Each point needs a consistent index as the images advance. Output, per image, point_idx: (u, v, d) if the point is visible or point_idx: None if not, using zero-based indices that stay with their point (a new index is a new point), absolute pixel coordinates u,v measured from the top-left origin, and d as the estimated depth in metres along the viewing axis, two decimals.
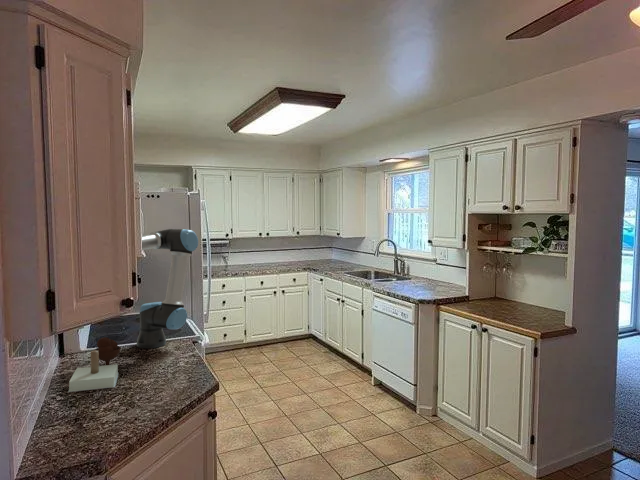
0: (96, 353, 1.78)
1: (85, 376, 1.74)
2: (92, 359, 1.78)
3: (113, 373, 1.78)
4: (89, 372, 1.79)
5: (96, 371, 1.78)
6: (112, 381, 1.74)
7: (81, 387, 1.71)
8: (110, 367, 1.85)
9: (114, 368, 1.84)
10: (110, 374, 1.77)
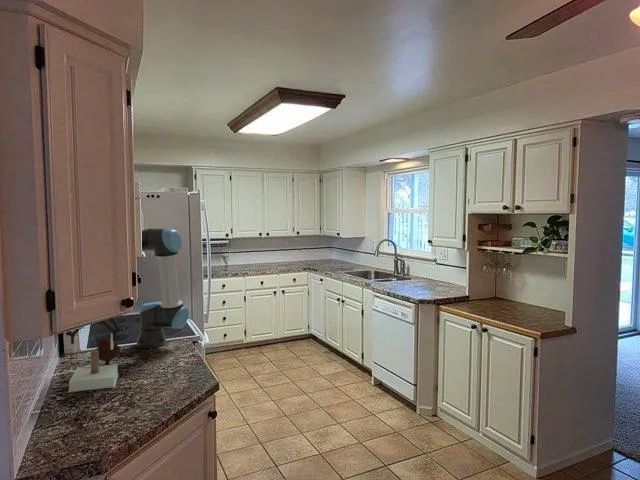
0: (96, 353, 1.78)
1: (85, 376, 1.74)
2: (92, 359, 1.78)
3: (113, 373, 1.78)
4: (89, 372, 1.79)
5: (96, 371, 1.78)
6: (112, 381, 1.74)
7: (81, 387, 1.71)
8: (110, 367, 1.85)
9: (114, 368, 1.84)
10: (110, 374, 1.77)
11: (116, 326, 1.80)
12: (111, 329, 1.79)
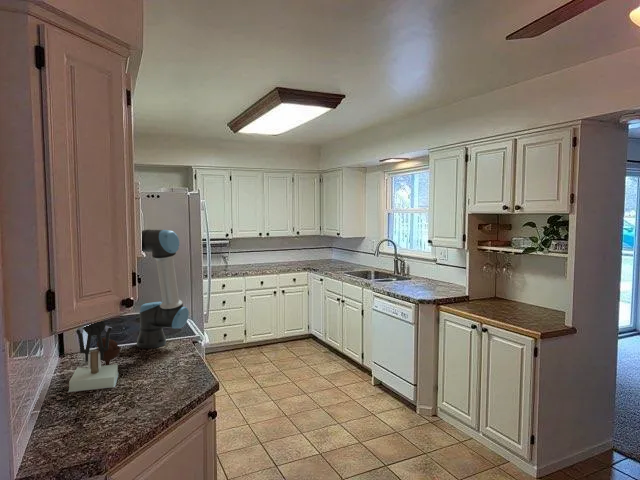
0: (96, 353, 1.78)
1: (85, 376, 1.74)
2: (92, 359, 1.78)
3: (113, 373, 1.78)
4: (89, 372, 1.79)
5: (96, 371, 1.78)
6: (112, 381, 1.74)
7: (81, 387, 1.71)
8: (110, 367, 1.85)
9: (114, 368, 1.84)
10: (110, 374, 1.77)
11: (106, 344, 1.79)
12: (101, 347, 1.79)
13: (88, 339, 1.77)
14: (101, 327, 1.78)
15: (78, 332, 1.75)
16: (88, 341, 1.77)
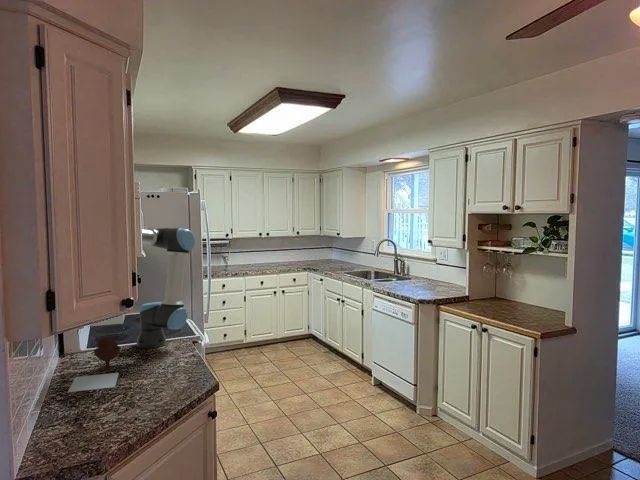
0: None
1: None
2: None
3: None
4: None
5: None
6: (121, 318, 1.85)
7: None
8: None
9: None
10: None
11: None
12: None
13: None
14: None
15: None
16: None
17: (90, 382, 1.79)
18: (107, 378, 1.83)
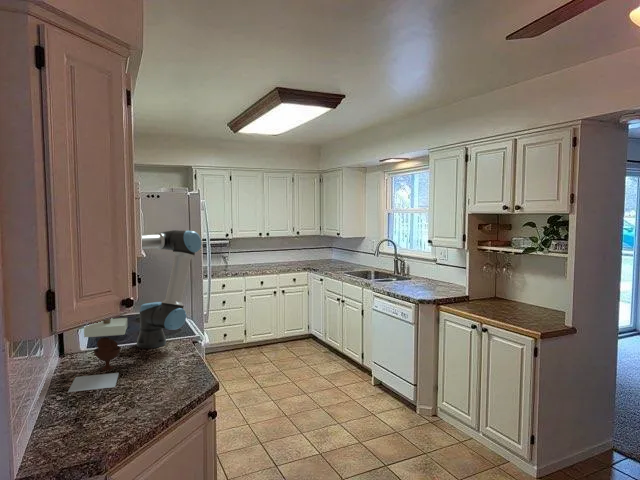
0: None
1: (98, 325, 1.90)
2: None
3: (124, 323, 1.94)
4: (102, 322, 1.95)
5: (108, 321, 1.94)
6: (123, 329, 1.90)
7: (95, 334, 1.86)
8: (121, 319, 2.01)
9: (124, 320, 2.00)
10: (121, 324, 1.93)
11: None
12: None
13: None
14: None
15: None
16: None
17: (90, 382, 1.79)
18: (107, 378, 1.83)
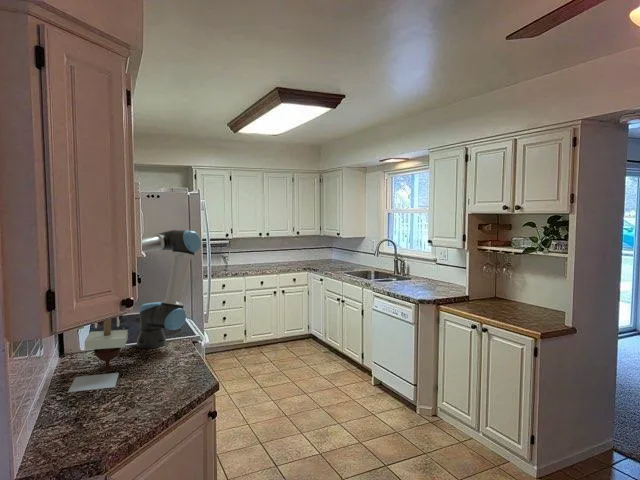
0: None
1: (99, 337, 1.90)
2: (105, 322, 1.94)
3: (124, 335, 1.94)
4: (102, 334, 1.95)
5: (109, 334, 1.94)
6: (123, 342, 1.90)
7: (95, 346, 1.87)
8: (121, 331, 2.01)
9: (125, 332, 2.00)
10: (121, 336, 1.93)
11: None
12: None
13: None
14: None
15: None
16: None
17: (90, 382, 1.79)
18: (107, 378, 1.83)
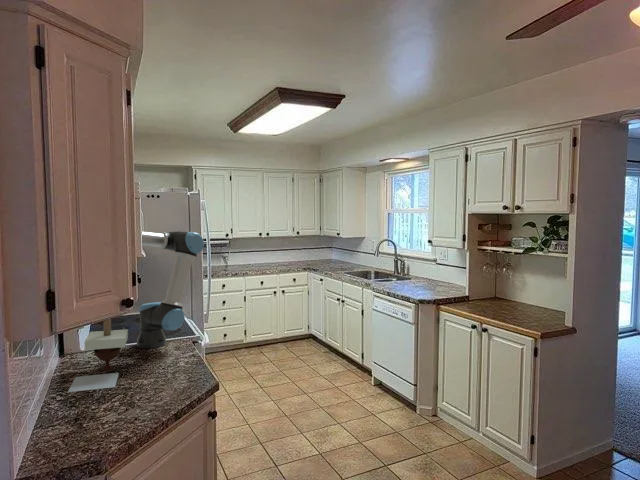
0: None
1: (99, 338, 1.90)
2: (105, 322, 1.93)
3: (124, 335, 1.94)
4: (102, 334, 1.95)
5: (109, 334, 1.94)
6: (123, 342, 1.90)
7: (95, 346, 1.87)
8: (121, 331, 2.01)
9: (125, 332, 2.00)
10: (121, 336, 1.93)
11: None
12: None
13: None
14: None
15: None
16: None
17: (90, 382, 1.79)
18: (107, 378, 1.83)
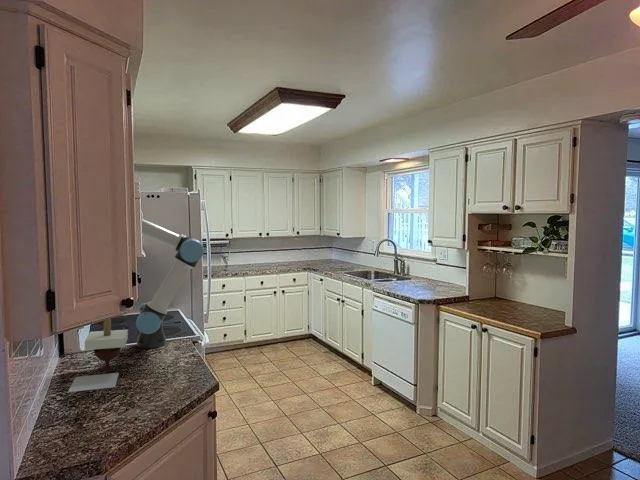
0: None
1: (99, 337, 1.90)
2: (105, 322, 1.94)
3: (124, 335, 1.94)
4: (102, 334, 1.95)
5: (109, 334, 1.94)
6: (123, 342, 1.90)
7: (95, 346, 1.87)
8: (121, 331, 2.01)
9: (125, 332, 2.00)
10: (121, 336, 1.93)
11: None
12: None
13: None
14: None
15: None
16: None
17: (90, 382, 1.79)
18: (107, 378, 1.83)
